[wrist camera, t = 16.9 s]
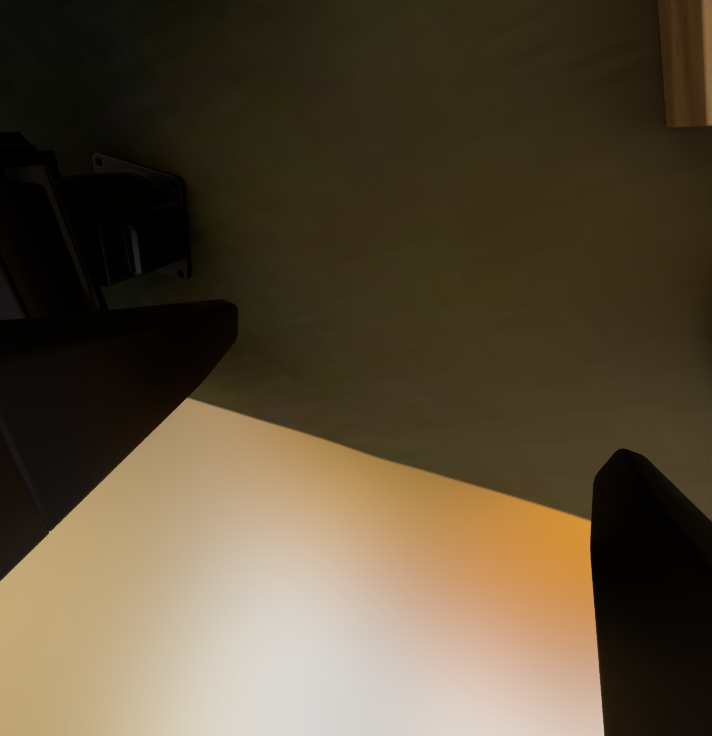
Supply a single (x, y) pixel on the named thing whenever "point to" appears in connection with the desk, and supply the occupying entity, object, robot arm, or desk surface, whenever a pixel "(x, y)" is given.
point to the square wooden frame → (686, 61)
